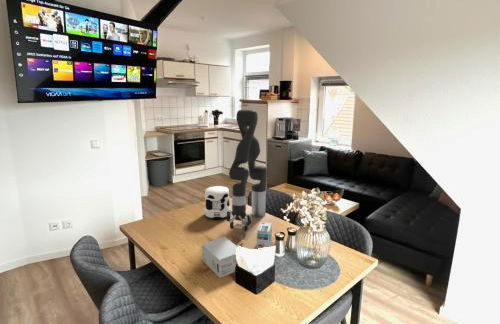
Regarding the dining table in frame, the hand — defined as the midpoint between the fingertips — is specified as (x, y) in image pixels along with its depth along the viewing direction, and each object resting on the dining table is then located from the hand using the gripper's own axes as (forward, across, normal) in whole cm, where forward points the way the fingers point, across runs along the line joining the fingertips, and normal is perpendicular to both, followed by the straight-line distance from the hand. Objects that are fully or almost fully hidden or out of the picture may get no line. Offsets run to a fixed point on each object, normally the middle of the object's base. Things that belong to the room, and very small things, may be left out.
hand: (238, 230), depth 163 cm
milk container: (+4, +26, -22) cm, 34 cm away
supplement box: (+6, -4, +27) cm, 28 cm away
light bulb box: (+5, -16, +2) cm, 17 cm away
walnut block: (+5, 0, 0) cm, 5 cm away
